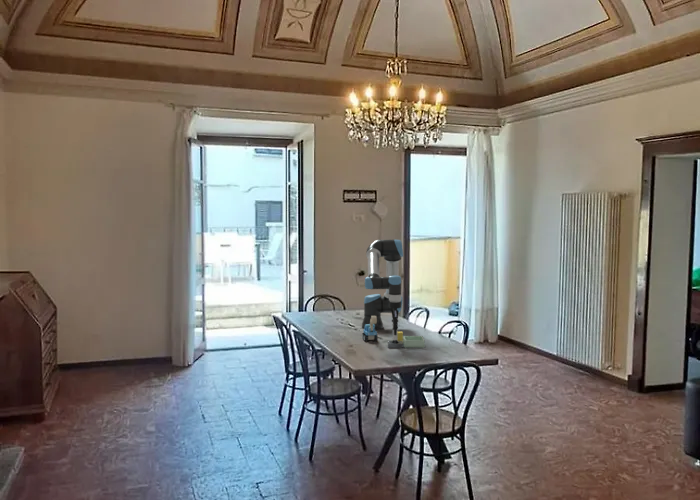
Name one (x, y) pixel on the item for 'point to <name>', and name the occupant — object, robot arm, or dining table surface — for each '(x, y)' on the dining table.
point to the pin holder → (395, 344)
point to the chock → (400, 336)
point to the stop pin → (397, 336)
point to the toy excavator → (370, 330)
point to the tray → (413, 342)
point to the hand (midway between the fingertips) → (395, 339)
